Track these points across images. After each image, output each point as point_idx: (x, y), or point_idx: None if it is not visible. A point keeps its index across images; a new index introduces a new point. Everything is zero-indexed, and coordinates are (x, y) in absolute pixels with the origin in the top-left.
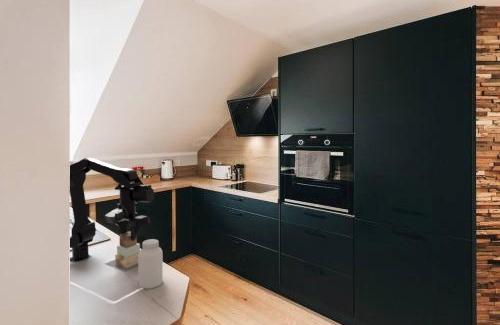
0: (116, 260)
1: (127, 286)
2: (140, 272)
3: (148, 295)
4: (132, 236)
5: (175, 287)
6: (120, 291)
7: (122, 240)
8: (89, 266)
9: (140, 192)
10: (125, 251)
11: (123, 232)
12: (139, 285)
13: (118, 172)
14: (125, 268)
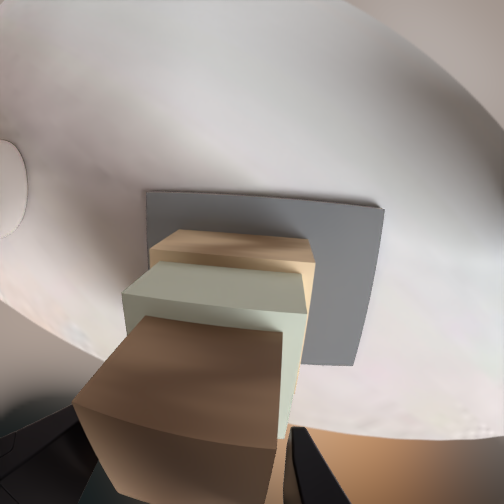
0: (296, 246)
1: (43, 111)
2: None
3: None
4: (48, 416)
5: None
6: (41, 72)
7: (207, 372)
8: (447, 154)
9: None
10: (158, 281)
11: (292, 498)
12: (4, 140)
13: None
14: (182, 221)
